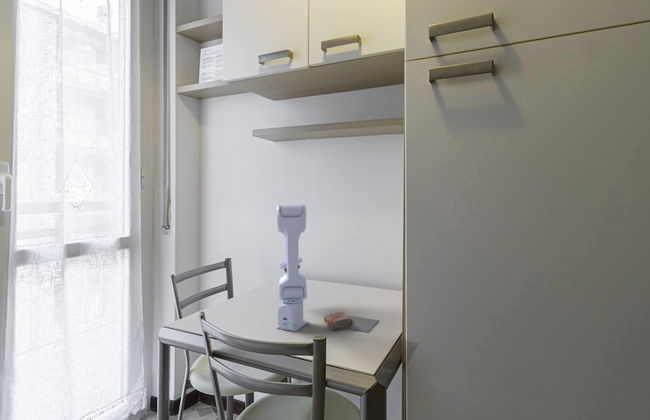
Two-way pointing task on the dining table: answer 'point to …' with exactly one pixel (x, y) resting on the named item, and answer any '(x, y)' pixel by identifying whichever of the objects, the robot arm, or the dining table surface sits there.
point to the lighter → (338, 320)
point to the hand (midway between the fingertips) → (292, 282)
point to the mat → (362, 324)
